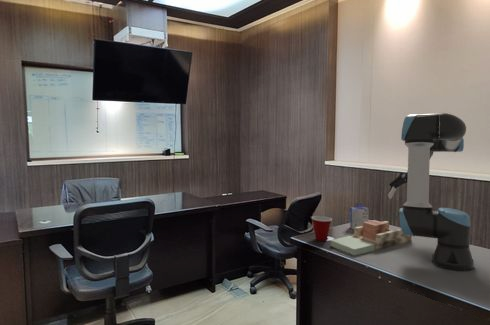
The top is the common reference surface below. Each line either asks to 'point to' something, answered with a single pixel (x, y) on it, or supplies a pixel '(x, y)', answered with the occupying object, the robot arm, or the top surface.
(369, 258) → the top surface
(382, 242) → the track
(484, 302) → the top surface
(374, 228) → the block
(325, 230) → the plastic cup
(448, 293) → the top surface
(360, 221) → the ink cartridge box
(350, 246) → the pad
